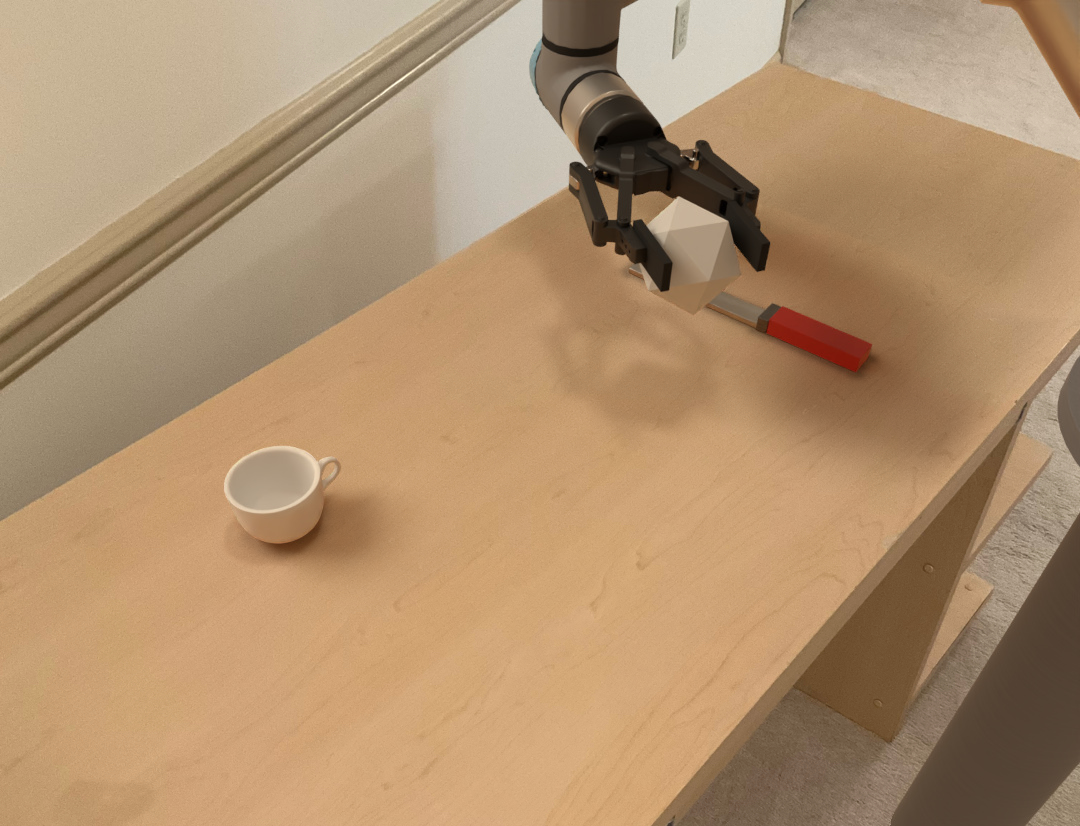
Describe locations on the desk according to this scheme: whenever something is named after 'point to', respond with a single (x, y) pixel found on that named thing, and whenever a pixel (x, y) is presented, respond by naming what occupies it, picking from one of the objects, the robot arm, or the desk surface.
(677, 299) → the white icosahedron
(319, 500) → the teacup
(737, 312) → the knife
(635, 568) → the desk surface
